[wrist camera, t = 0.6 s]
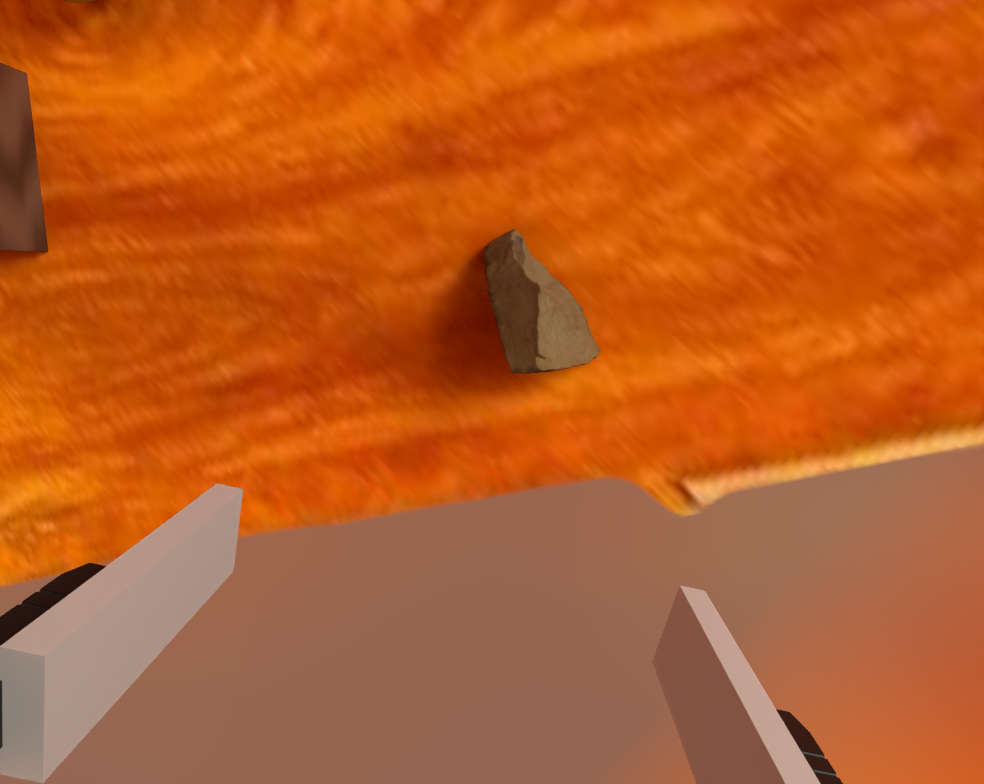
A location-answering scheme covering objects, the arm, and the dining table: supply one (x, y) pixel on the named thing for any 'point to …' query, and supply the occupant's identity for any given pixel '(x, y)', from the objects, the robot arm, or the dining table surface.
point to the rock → (534, 311)
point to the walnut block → (19, 168)
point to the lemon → (80, 1)
